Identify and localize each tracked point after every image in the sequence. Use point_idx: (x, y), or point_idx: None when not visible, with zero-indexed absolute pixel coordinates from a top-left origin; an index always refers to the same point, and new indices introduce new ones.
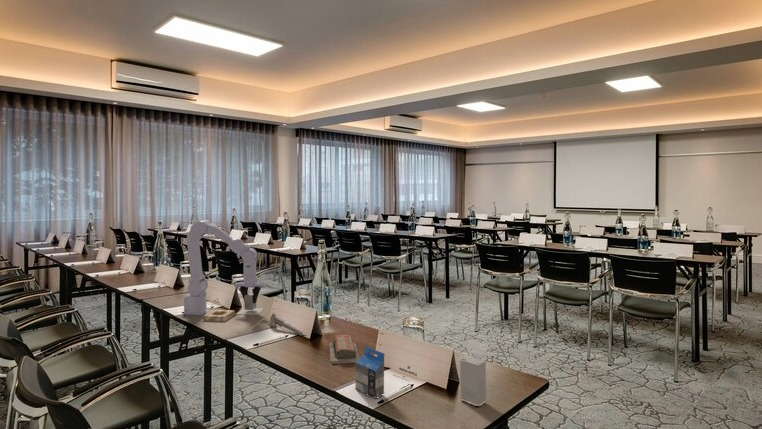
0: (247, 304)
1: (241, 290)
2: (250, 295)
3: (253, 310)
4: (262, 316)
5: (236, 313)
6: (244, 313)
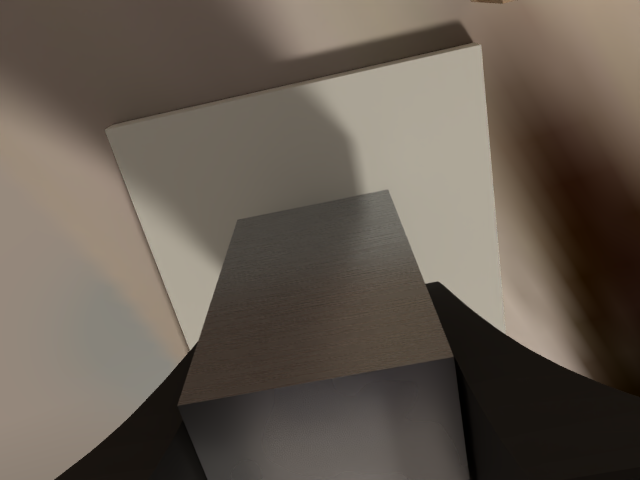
0: (337, 243)
1: (630, 445)
2: (245, 391)
3: None
4: (3, 132)
5: (481, 65)
6: (344, 115)
